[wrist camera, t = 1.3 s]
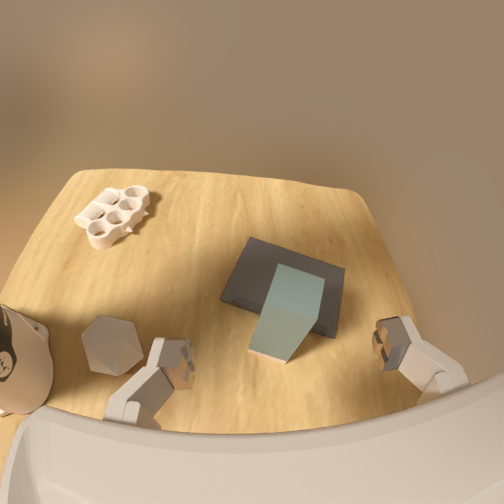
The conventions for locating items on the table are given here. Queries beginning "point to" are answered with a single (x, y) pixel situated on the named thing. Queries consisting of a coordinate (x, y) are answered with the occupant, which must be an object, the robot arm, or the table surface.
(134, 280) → the table surface
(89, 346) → the die
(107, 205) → the white multi-hole holder
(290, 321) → the block
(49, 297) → the table surface
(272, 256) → the charcoal mat
